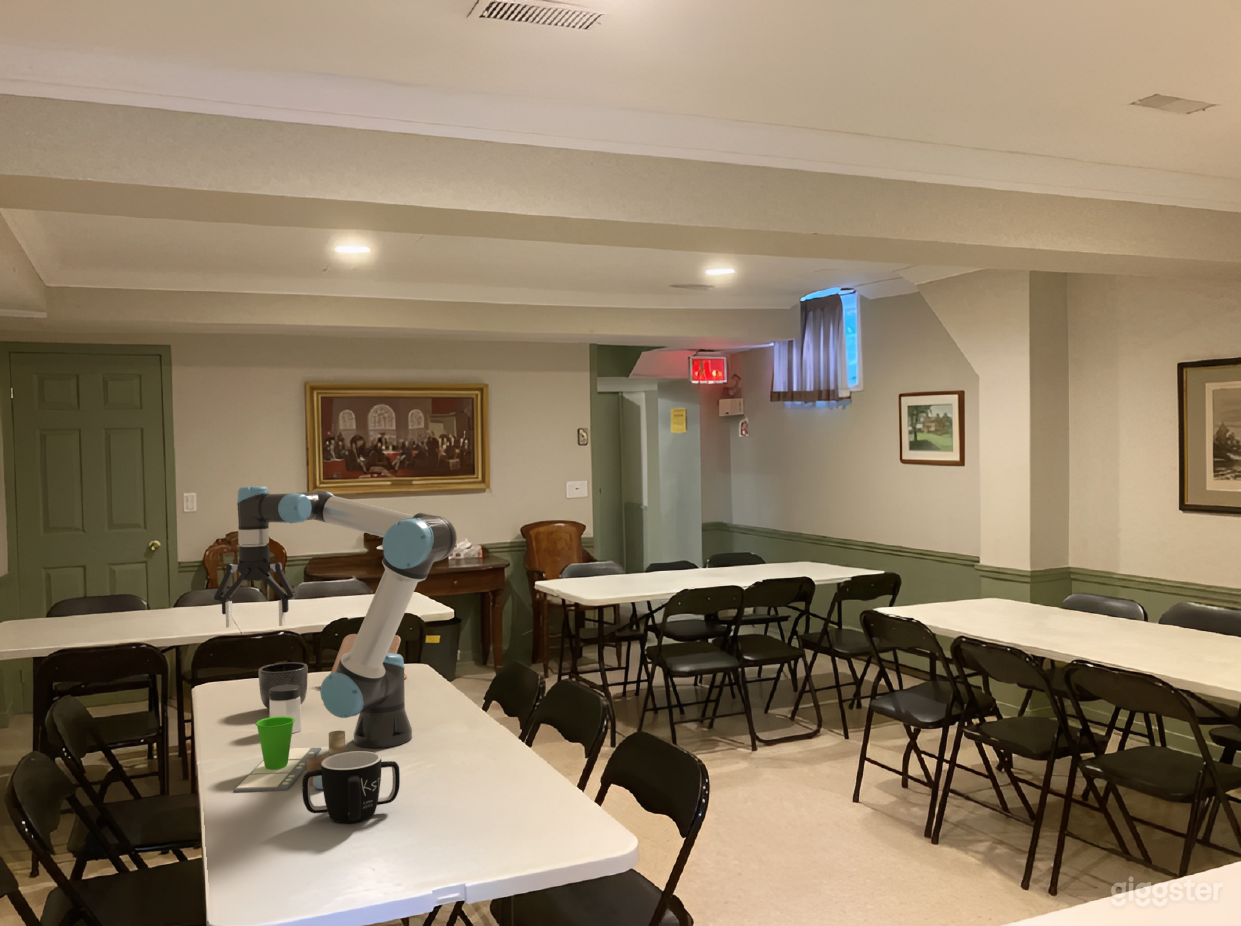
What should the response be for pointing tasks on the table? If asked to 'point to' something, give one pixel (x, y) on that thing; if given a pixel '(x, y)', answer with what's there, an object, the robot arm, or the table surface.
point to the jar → (286, 703)
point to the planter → (282, 679)
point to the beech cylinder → (336, 742)
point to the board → (278, 773)
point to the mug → (351, 786)
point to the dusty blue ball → (317, 782)
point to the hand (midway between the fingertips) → (255, 625)
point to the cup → (275, 740)
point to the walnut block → (314, 764)
